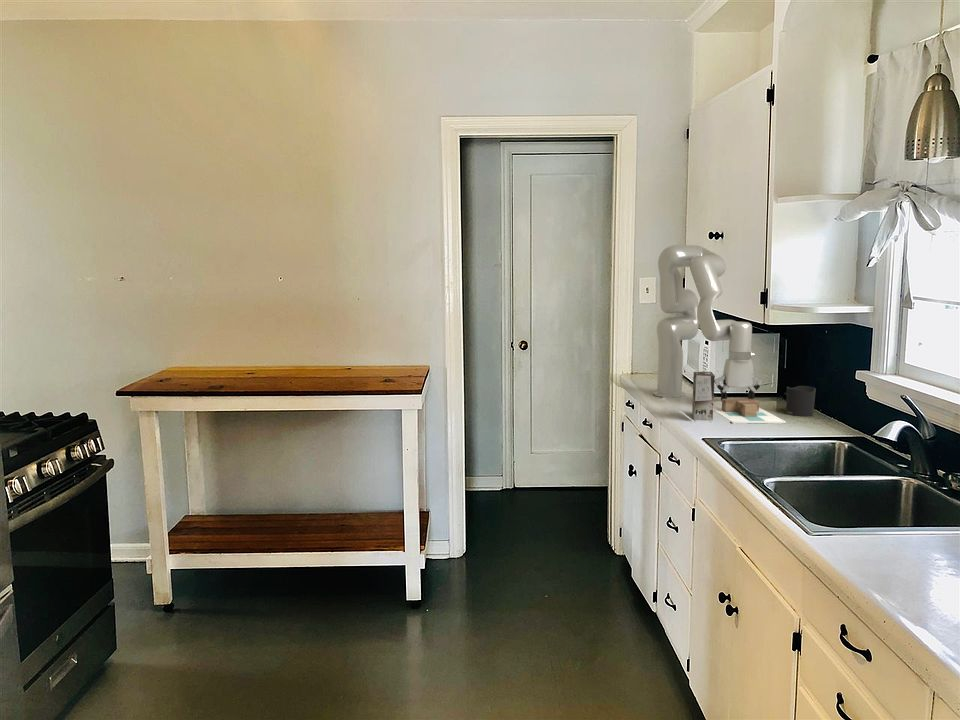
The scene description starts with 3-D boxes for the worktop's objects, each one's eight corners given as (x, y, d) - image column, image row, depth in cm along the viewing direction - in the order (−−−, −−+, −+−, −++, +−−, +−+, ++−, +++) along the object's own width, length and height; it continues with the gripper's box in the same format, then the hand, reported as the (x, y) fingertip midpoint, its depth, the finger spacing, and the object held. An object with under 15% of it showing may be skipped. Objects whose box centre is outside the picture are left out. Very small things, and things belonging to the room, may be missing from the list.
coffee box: (713, 422, 252) (715, 375, 249) (693, 421, 253) (695, 375, 251) (710, 416, 261) (712, 371, 258) (691, 416, 262) (693, 370, 259)
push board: (701, 403, 283) (701, 401, 283) (748, 403, 284) (748, 401, 284) (732, 423, 250) (732, 421, 250) (785, 423, 250) (785, 421, 250)
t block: (721, 409, 269) (722, 398, 268) (754, 409, 269) (755, 398, 269) (733, 416, 257) (734, 405, 256) (767, 416, 257) (768, 405, 257)
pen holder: (785, 411, 268) (786, 384, 267) (813, 414, 264) (815, 386, 263) (785, 417, 259) (786, 389, 258) (814, 419, 256) (816, 390, 254)
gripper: (759, 354, 272) (756, 400, 274) (712, 354, 271) (710, 400, 274) (767, 357, 264) (765, 404, 267) (719, 357, 264) (717, 404, 266)
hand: (737, 402), depth 270 cm, fingers open, 9 cm apart
